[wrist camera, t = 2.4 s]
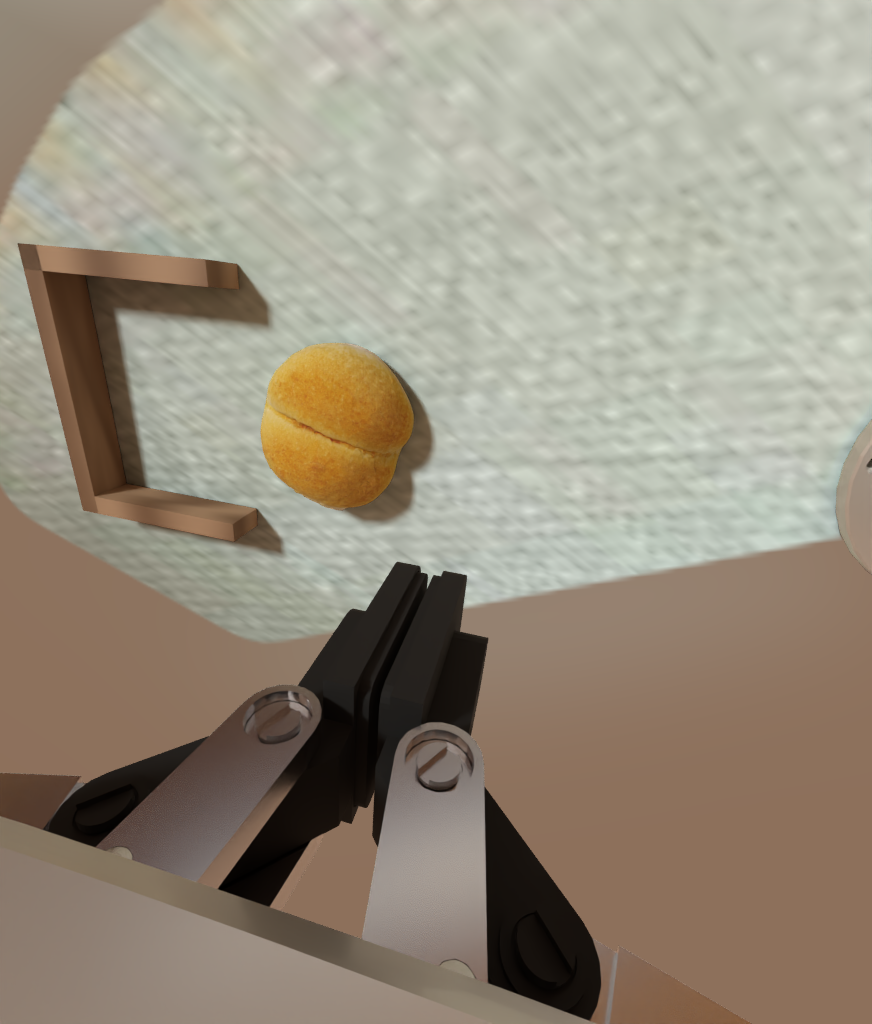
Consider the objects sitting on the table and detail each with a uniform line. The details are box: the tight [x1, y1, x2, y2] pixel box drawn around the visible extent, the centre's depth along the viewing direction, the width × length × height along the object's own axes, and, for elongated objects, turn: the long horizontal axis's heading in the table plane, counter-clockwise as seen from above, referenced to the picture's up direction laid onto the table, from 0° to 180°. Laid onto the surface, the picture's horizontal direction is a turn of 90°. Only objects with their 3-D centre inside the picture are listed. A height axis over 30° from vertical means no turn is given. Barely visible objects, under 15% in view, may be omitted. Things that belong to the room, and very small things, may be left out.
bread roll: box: [261, 343, 414, 510], centre depth 25 cm, size 8×9×4 cm
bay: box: [18, 243, 258, 542], centre depth 28 cm, size 11×15×2 cm
